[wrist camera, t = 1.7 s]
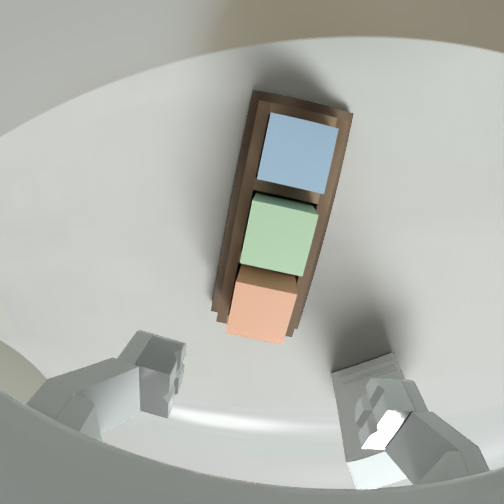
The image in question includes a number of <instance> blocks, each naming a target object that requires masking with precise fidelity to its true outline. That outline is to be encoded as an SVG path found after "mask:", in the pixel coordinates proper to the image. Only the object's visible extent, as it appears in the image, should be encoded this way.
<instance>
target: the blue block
mask: <svg viewBox="0 0 504 504" xmlns="http://www.w3.org/2000/svg"><path fill="white" fill-rule="evenodd" d="M338 130H339V129H338V128H335V127H331V126H327V125H323V124H319V123H315V122H311V121H307V120H303V119H298V118H294V117H289V116H285V115H280V114H275V113H271V114H270V119H269V123H268V128H267V133H266V137H265V142H264V147H263V152H262V157H261V161H260V166H259V171H258V176H257V179H259V180H264V181H268V182H273V183H278V184H282V185H287V186H291V187H295V188H300V189H304V190H308V191H312V192H317V193H321V194H324V192H325V188H326V183H327V179H328V175H329V171H330V166H331V162H332V158H333V153H334V149H335V144H336V139H337V135H338Z"/></svg>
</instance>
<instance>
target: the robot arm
mask: <svg viewBox="0 0 504 504" xmlns="http://www.w3.org/2000/svg"><path fill="white" fill-rule="evenodd" d="M185 355H186V343H183V342H179V341H176V340H172V339H169V338H165V337H162V336H159V335H154V334H152V333H148V332H145V331H142V330H139V331H137V332H136V333H135V335H134V336H133V337H132V339H131V340H130V342H129V343H128V344H127V346H126V347H125V348H124V350H123V351H122V353H121V354H120V355H119V357H118V358H117V359H115V358H110V359H107V360H104V361H102V362H99V363H96V364H93V365H90V366H87V367H84V368H81V369H78V370H75V371H72V372H69V373H66V374H63V375H59V376H56V377H53V378H50V379H47V380H46V382H45V383H44V384H43V385H42V386H41V387H40V389H39V390H38V391H37V392H36V393H35V394H34V396H33V397H32V398H31V399H30V400H29V402H28V403H27V404H24V403H23V402H21V401H19V400H18V399H16V398H14V397H13V396H11V395H9V394H8V393H6V392H5V391H3V390H2V389H0V504H504V467H502V468H498V469H495V470H491V471H490V470H489V468H488V466H487V463H486V461H485V459H484V457H483V455H482V453H481V451H480V449H479V447H478V446H477V445H475V444H474V443H473V442H471V441H470V440H469V439H467V438H466V437H465V436H463V435H462V434H461V433H460V432H458V431H457V430H456V429H454V428H453V427H452V426H450V425H449V424H448V423H446V422H445V421H444V420H442V419H441V418H440V417H438V416H437V415H436V414H435V413H433V412H429V411H428V409H427V407H426V405H425V403H424V400H423V398H422V396H421V394H420V392H419V390H418V388H417V386H416V384H415V382H414V381H412V380H401V379H399V380H394V379H382V378H371V379H370V380H369V382H368V383H367V385H366V389H367V393H365V394H364V395H362V396H360V398H359V400H358V402H357V404H356V409H355V421H356V424H357V425H358V426H359V427H360V428H361V430H360V431H359V433H358V435H359V439H360V444H361V448H364V449H385V450H384V451H385V452H386V453H387V454H388V455H389V457H390V458H391V459H392V460H393V461H394V462H395V464H396V465H397V466H398V467H399V468H400V470H401V471H402V472H403V473H404V474H405V475H406V477H407V478H408V479H409V480H410V481H411V482H412V484H413V485H410V486H400V487H388V488H371V489H318V488H300V487H288V486H278V485H269V484H261V483H254V482H247V481H241V480H235V479H230V478H224V477H219V476H214V475H210V474H205V473H201V472H196V471H192V470H188V469H184V468H180V467H177V466H173V465H169V464H166V463H162V462H159V461H156V460H152V459H149V458H146V457H143V456H140V455H137V454H134V453H131V452H128V451H126V450H123V449H120V448H118V447H115V446H112V445H110V444H107V443H105V442H102V438H101V436H102V435H103V434H105V433H107V432H108V431H110V430H112V429H113V428H115V427H117V426H118V425H120V424H122V423H123V422H125V421H127V420H128V419H130V418H132V417H133V416H135V415H136V414H138V413H140V411H144V412H147V413H150V414H154V415H158V416H161V417H165V418H168V416H169V414H170V411H171V409H172V406H173V404H174V395H175V394H177V393H178V391H179V388H180V385H181V382H182V378H183V373H184V364H183V360H184V357H185Z"/></svg>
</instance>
